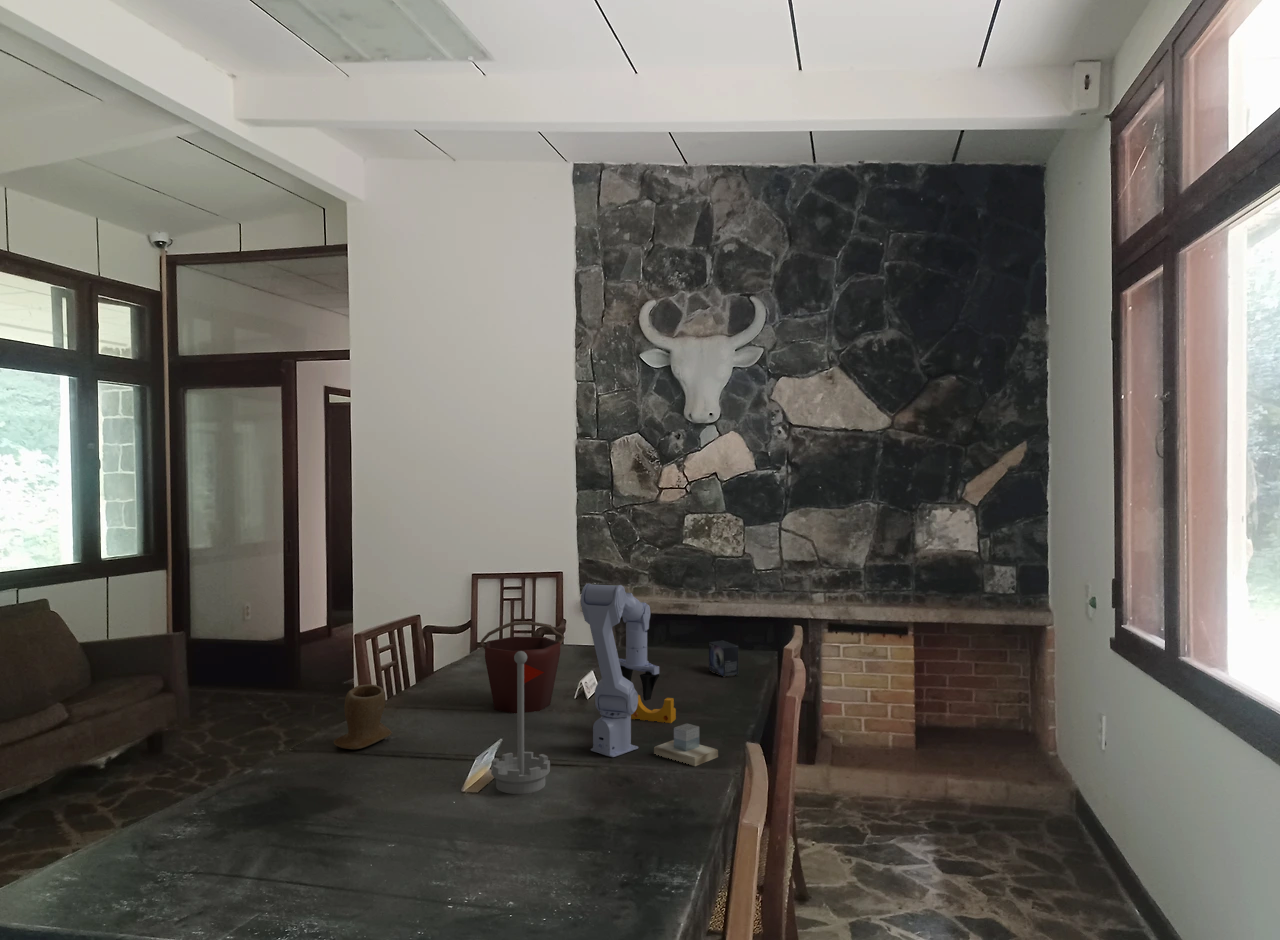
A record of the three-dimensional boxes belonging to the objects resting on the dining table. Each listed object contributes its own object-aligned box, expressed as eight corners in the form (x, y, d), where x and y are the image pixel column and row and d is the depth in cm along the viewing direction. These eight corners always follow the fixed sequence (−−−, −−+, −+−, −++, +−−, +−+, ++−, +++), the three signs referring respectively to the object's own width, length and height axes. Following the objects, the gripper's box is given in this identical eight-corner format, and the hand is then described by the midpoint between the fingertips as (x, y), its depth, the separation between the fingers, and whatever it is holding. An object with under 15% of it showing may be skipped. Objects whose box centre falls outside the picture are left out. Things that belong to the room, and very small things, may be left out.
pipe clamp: (675, 719, 247) (675, 696, 247) (670, 723, 243) (670, 700, 243) (636, 715, 251) (636, 693, 251) (630, 719, 247) (630, 696, 247)
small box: (707, 671, 304) (707, 641, 304) (723, 669, 307) (723, 639, 307) (722, 678, 295) (722, 647, 295) (739, 676, 297) (739, 645, 297)
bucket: (568, 697, 270) (568, 616, 270) (555, 717, 248) (554, 629, 248) (491, 695, 273) (491, 615, 273) (471, 715, 251) (470, 628, 251)
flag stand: (494, 798, 188) (494, 658, 188) (488, 777, 200) (488, 647, 200) (554, 792, 191) (554, 655, 191) (544, 772, 204) (544, 643, 204)
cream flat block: (695, 766, 207) (694, 758, 207) (654, 754, 216) (654, 746, 216) (718, 757, 214) (718, 748, 214) (677, 745, 223) (677, 737, 223)
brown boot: (362, 756, 215) (362, 695, 215) (327, 749, 221) (326, 690, 221) (404, 738, 229) (404, 681, 229) (370, 732, 234) (370, 677, 234)
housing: (686, 751, 212) (686, 731, 212) (673, 747, 215) (673, 727, 215) (699, 746, 216) (699, 726, 216) (687, 743, 218) (687, 723, 218)
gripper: (666, 648, 232) (666, 699, 232) (627, 640, 242) (627, 689, 242) (649, 652, 227) (649, 704, 227) (609, 644, 237) (609, 694, 237)
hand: (636, 697), depth 234 cm, fingers open, 7 cm apart
